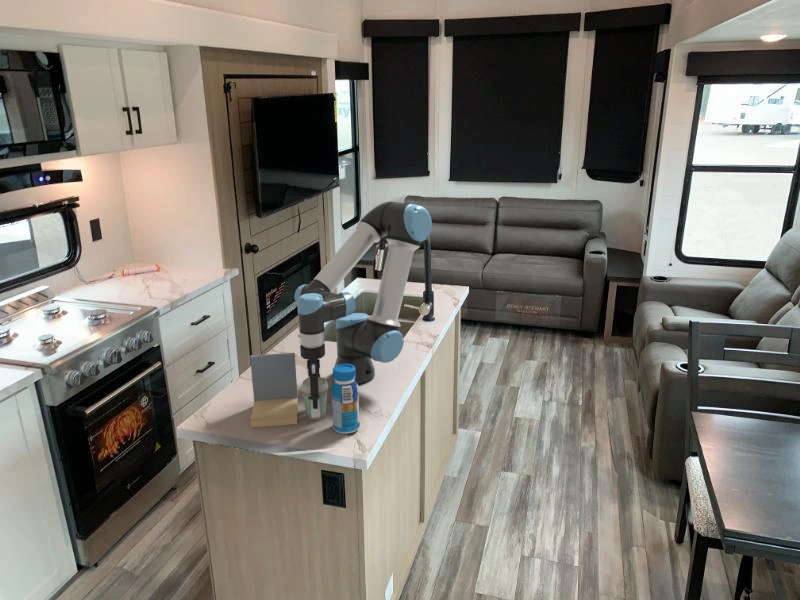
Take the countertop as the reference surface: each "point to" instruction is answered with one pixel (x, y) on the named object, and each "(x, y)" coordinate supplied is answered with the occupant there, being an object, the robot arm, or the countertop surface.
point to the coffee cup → (322, 396)
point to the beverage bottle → (345, 399)
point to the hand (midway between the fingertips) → (315, 406)
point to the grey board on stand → (274, 390)
